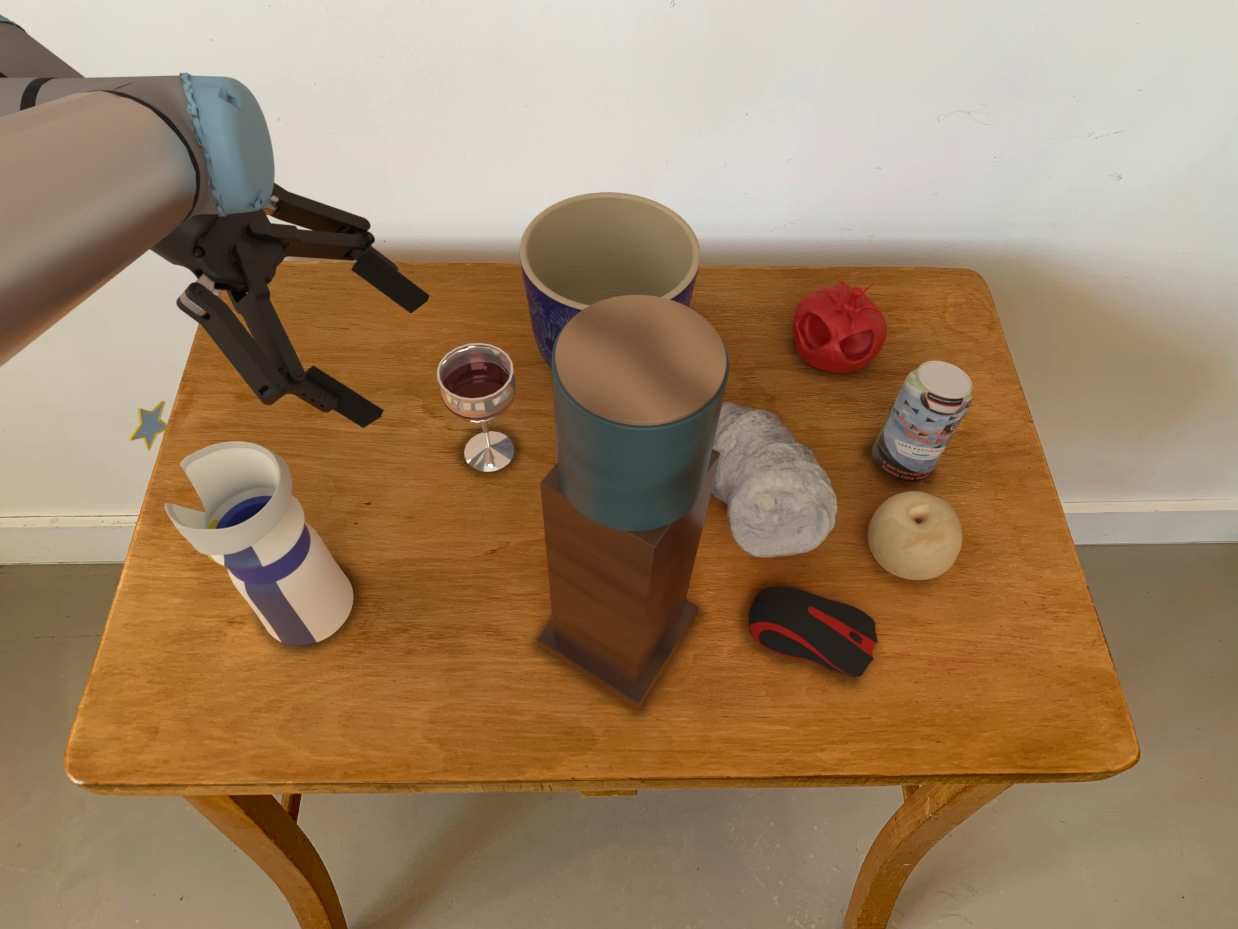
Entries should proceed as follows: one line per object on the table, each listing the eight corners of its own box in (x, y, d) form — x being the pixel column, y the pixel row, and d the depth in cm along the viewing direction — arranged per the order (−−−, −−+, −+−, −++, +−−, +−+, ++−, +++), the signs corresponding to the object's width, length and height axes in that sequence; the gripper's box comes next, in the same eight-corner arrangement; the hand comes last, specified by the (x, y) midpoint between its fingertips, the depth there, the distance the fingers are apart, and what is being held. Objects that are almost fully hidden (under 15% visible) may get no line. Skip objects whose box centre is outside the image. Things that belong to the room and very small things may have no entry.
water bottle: (245, 653, 66) (90, 492, 46) (269, 562, 71) (139, 379, 50) (344, 653, 66) (235, 493, 46) (362, 562, 71) (270, 380, 51)
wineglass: (521, 479, 77) (511, 401, 67) (451, 479, 77) (431, 400, 67) (525, 424, 81) (516, 342, 71) (458, 423, 81) (440, 341, 71)
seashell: (652, 432, 81) (659, 366, 72) (792, 426, 82) (815, 361, 74) (669, 573, 72) (680, 516, 63) (827, 565, 73) (858, 508, 64)
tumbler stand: (637, 710, 64) (677, 468, 36) (537, 646, 67) (500, 374, 39) (697, 615, 69) (774, 334, 41) (601, 559, 72) (611, 260, 43)
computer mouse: (862, 689, 66) (876, 672, 63) (738, 639, 68) (746, 620, 65) (878, 625, 69) (893, 606, 66) (760, 579, 72) (768, 558, 68)
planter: (497, 352, 86) (482, 240, 74) (612, 282, 93) (616, 169, 81) (600, 447, 79) (602, 341, 67) (716, 364, 86) (738, 254, 74)
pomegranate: (802, 307, 92) (821, 243, 84) (885, 336, 90) (913, 273, 82) (773, 364, 87) (791, 301, 79) (861, 396, 84) (888, 335, 77)
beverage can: (864, 480, 78) (904, 404, 68) (873, 425, 82) (911, 345, 72) (928, 497, 77) (978, 422, 67) (934, 440, 81) (981, 361, 71)
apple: (967, 585, 71) (963, 571, 65) (875, 585, 75) (862, 572, 68) (961, 501, 74) (957, 479, 67) (872, 505, 77) (860, 485, 70)
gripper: (211, 125, 67) (415, 281, 79) (49, 336, 53) (327, 489, 64) (249, 71, 62) (460, 245, 74) (83, 287, 48) (375, 460, 60)
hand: (398, 359), depth 69 cm, fingers open, 13 cm apart
